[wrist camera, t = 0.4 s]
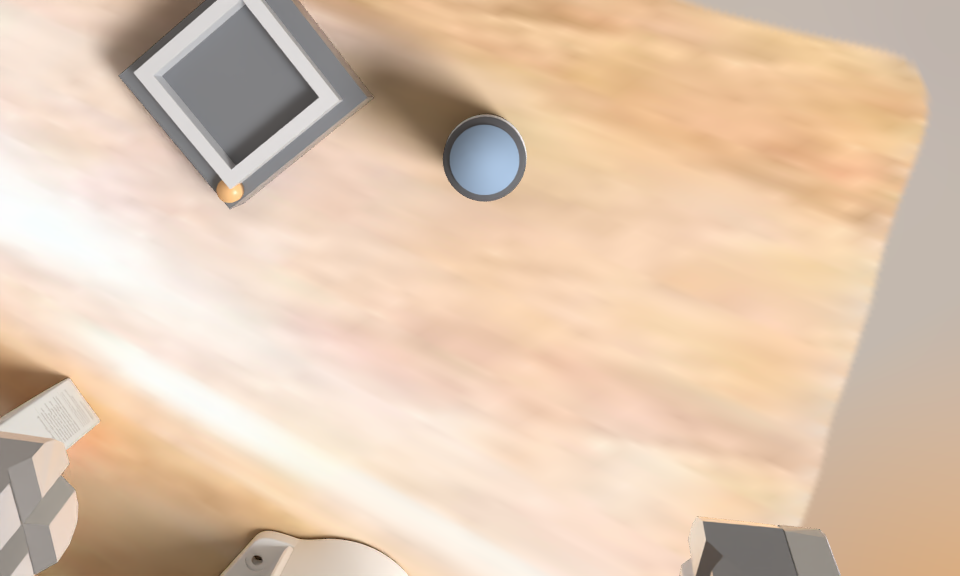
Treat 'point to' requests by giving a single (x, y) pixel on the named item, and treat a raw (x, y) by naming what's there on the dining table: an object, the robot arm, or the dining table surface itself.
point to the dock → (246, 90)
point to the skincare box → (53, 415)
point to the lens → (484, 157)
